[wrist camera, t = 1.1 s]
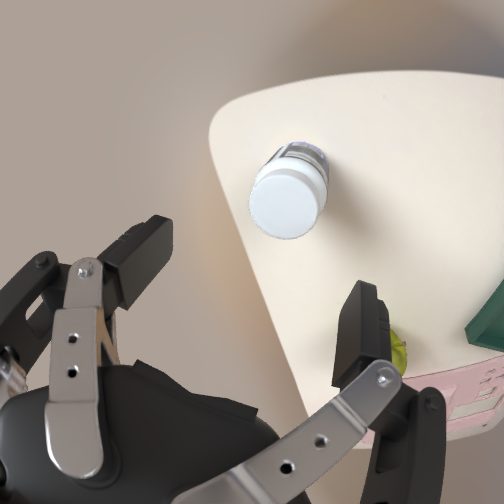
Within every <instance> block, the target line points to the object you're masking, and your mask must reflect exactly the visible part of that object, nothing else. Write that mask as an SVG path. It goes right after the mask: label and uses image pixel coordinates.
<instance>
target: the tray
mask: <svg viewBox="0 0 504 504" xmlns="http://www.w3.org/2000/svg"><path fill="white" fill-rule="evenodd" d="M465 331H466V335H467V339H468V342H469V344H472V345H476V346H480V347H484V348H488V349H492V350H496V351H500V352H504V280H503V281H502V282H501V284H500V285H499V287H498V288H497V289H496V291H495V292H494V293H493V295H492V296H491V297H490V299H489V300H488V301H487V303H486V304H485V305H484V306H483V308H482V309H481V310H480V311H479V313H478V314H477V315H476V316H475V317H474V319H473V320H472V321H471V322H470V323H469V324H468V325H467V327H466V328H465Z"/></svg>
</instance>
